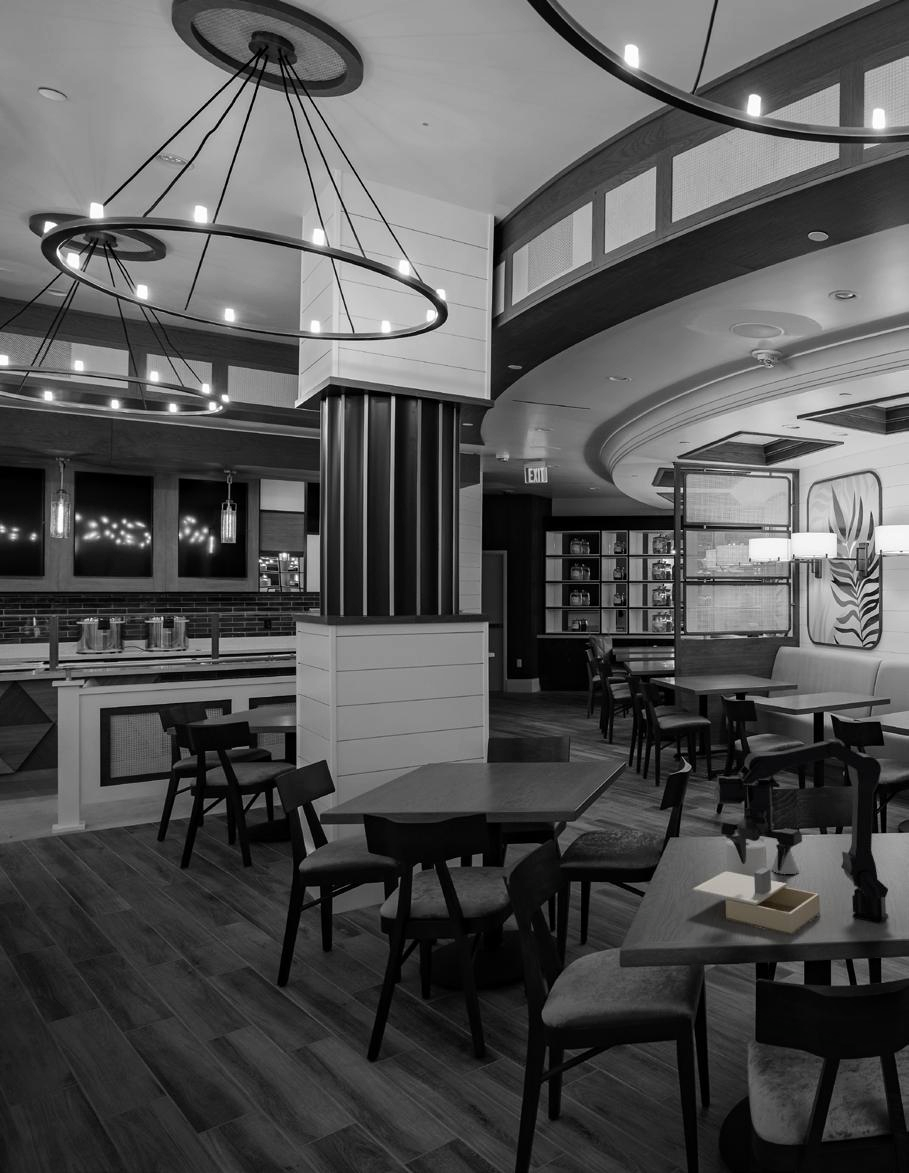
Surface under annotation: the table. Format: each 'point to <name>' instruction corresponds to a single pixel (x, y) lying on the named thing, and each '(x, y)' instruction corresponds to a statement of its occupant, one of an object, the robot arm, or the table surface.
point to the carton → (777, 911)
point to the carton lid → (742, 886)
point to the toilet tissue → (747, 857)
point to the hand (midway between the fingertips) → (761, 867)
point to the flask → (786, 865)
